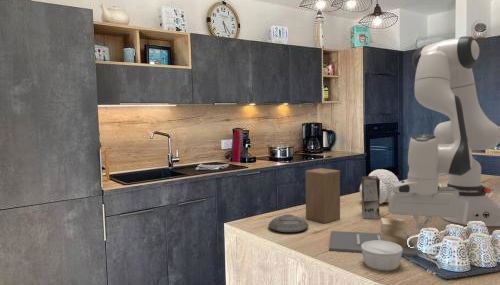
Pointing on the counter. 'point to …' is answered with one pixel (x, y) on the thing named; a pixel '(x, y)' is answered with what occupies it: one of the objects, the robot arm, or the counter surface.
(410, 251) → the rubber mat
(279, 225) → the flying saucer
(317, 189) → the wooden block
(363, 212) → the coffee box
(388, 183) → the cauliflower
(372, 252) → the ramekin
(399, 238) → the maple cube
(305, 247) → the counter surface
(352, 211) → the counter surface
